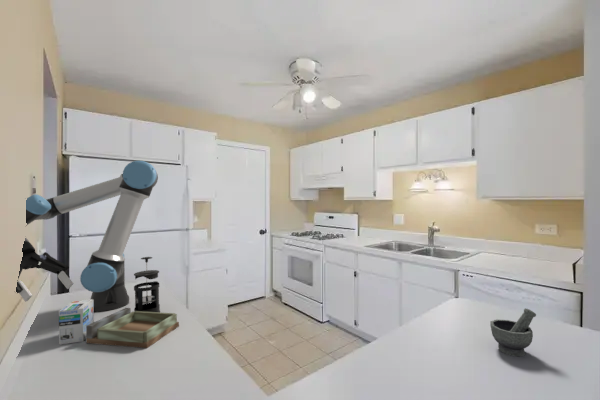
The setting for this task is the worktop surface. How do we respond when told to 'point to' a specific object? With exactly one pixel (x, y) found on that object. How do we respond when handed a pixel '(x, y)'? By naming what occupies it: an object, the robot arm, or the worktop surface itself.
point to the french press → (150, 301)
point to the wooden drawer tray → (131, 328)
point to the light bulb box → (75, 321)
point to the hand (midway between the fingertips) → (51, 292)
